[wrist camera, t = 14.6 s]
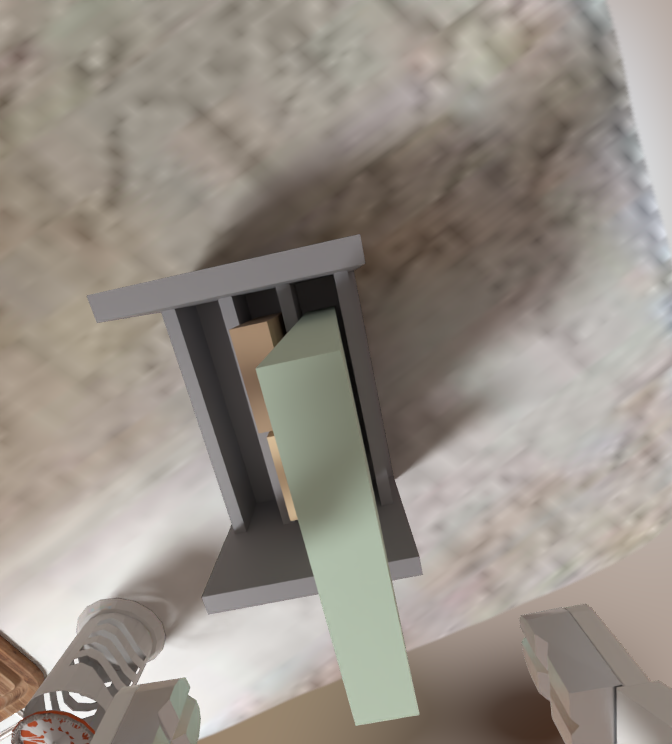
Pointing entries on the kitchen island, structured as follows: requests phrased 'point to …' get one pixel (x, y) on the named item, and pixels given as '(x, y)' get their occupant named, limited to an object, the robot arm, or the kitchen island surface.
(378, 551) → the tall panel
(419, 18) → the kitchen island surface
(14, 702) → the chopping board
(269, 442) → the offcut oak
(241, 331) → the offcut walnut
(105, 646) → the french press
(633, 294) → the kitchen island surface
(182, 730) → the robot arm
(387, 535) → the rack
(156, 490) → the kitchen island surface
